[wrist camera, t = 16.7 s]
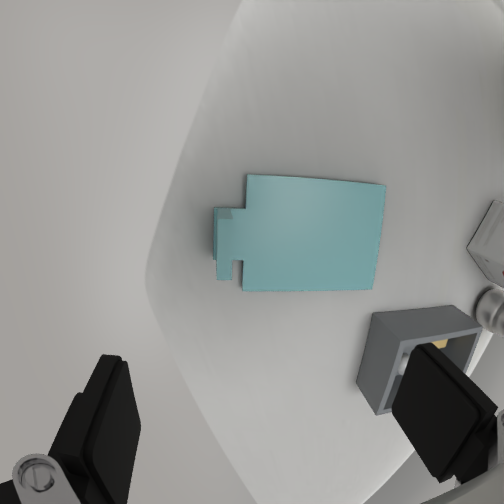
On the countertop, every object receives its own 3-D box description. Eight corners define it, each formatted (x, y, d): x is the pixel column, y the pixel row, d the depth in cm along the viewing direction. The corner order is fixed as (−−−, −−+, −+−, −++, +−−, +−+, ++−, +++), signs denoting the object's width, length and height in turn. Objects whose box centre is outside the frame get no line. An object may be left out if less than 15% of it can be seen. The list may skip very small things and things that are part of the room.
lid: (378, 184, 32) (415, 191, 26) (366, 284, 35) (395, 309, 29) (215, 173, 30) (215, 175, 23) (212, 285, 33) (212, 316, 27)
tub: (452, 305, 38) (483, 326, 31) (432, 368, 41) (456, 393, 34) (373, 312, 36) (400, 340, 30) (356, 382, 39) (375, 415, 33)
